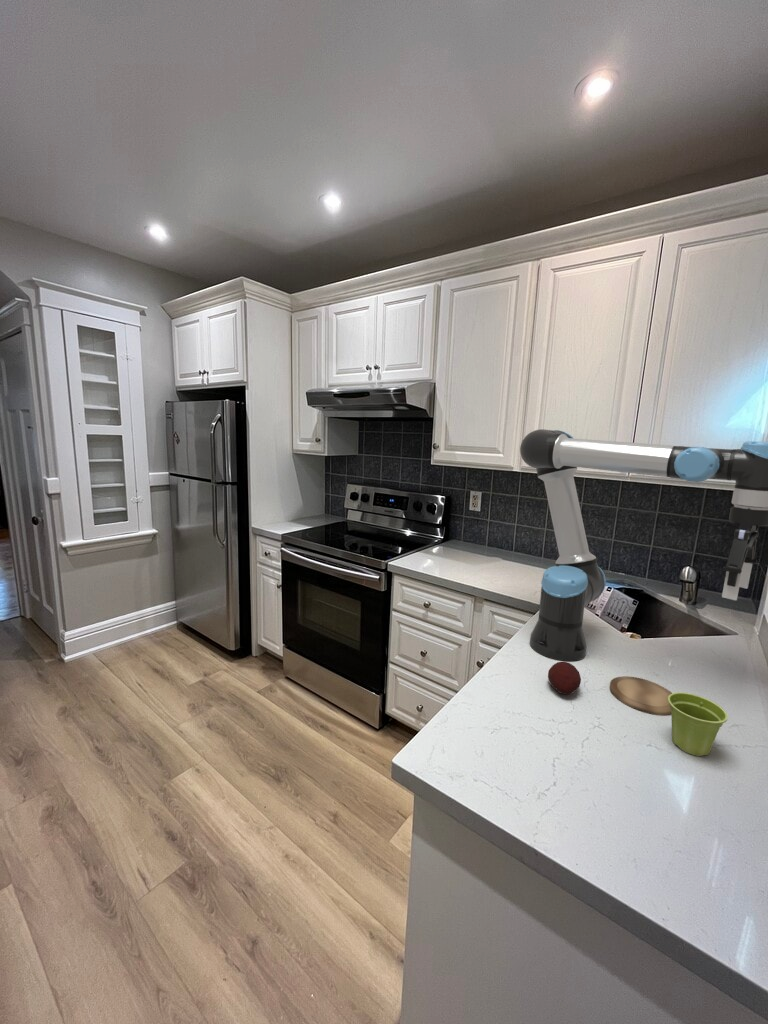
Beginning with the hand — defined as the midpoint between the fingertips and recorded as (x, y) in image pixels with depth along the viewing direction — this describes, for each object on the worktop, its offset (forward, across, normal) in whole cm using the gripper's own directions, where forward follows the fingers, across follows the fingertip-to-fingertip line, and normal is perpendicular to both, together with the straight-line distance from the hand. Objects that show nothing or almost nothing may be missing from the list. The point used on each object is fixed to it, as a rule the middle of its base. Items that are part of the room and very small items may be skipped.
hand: (735, 592), depth 103 cm
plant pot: (+24, -34, -2) cm, 42 cm away
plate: (+24, -23, +10) cm, 35 cm away
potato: (+24, -35, +24) cm, 49 cm away
